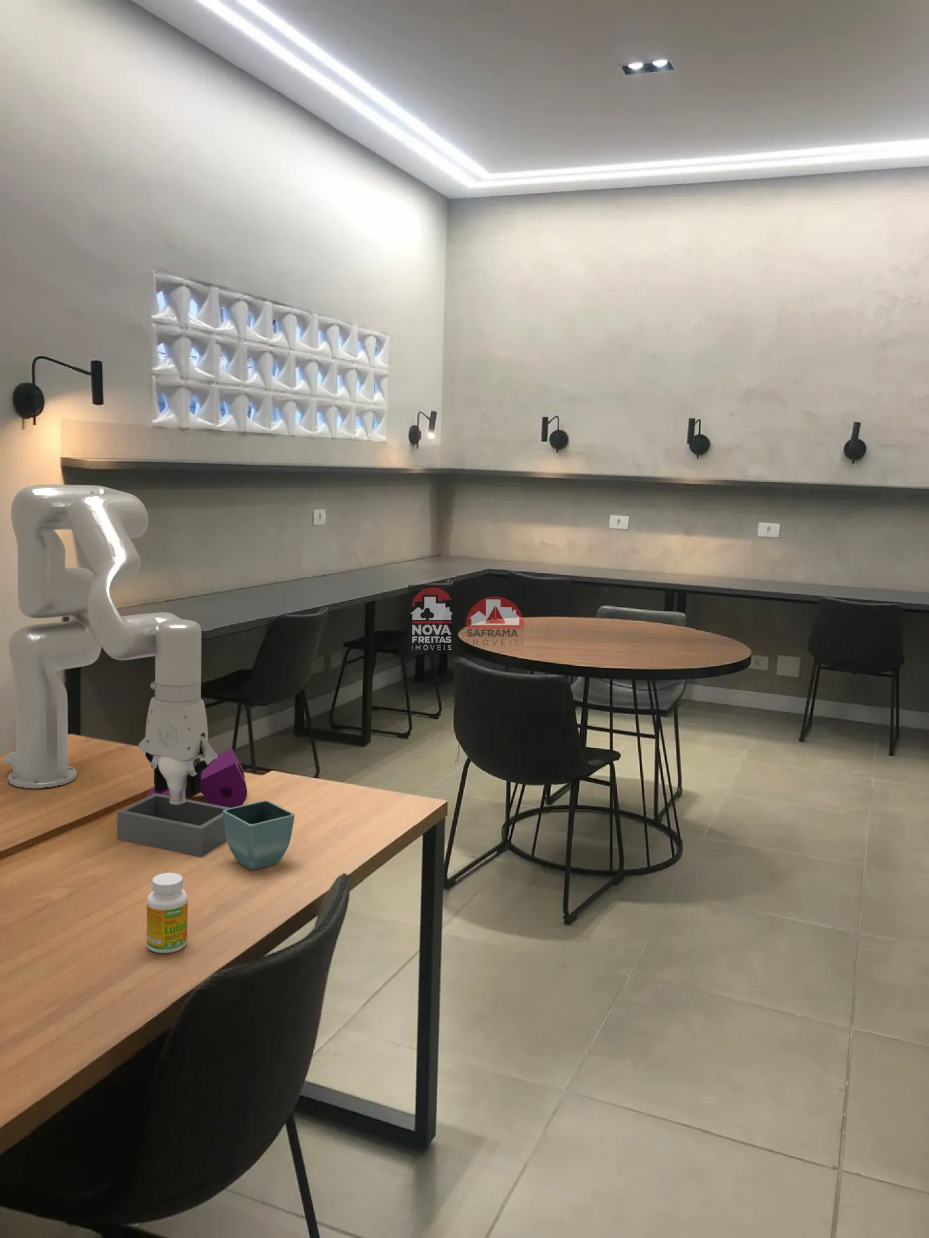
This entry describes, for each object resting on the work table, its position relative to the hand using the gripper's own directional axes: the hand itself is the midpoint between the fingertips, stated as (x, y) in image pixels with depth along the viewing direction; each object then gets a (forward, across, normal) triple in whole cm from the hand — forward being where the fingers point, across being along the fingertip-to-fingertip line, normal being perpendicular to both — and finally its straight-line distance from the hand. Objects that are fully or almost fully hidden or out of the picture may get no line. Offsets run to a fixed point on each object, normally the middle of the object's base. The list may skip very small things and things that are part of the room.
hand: (177, 791), depth 170 cm
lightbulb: (+3, 0, 0) cm, 3 cm away
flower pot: (+9, +18, -3) cm, 20 cm away
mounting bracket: (+9, -6, +15) cm, 19 cm away
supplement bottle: (+9, +21, -32) cm, 39 cm away
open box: (+8, 0, 0) cm, 8 cm away
